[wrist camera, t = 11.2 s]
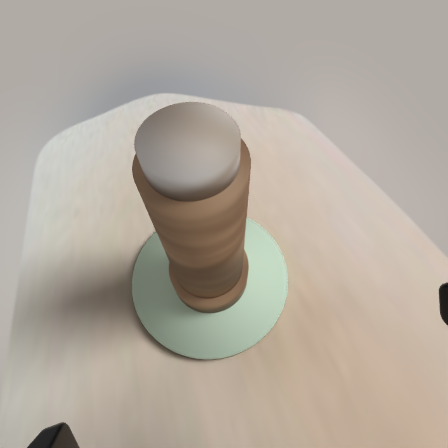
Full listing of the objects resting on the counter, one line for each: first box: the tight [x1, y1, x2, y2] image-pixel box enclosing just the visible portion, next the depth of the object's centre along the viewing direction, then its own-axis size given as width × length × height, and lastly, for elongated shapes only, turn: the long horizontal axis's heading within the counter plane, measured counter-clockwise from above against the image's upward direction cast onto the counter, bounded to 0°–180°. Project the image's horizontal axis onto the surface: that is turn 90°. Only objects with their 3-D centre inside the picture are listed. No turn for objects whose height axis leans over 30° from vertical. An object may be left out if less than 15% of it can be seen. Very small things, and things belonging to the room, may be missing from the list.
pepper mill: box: [132, 102, 251, 313], centre depth 16 cm, size 5×5×13 cm
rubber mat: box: [132, 218, 288, 360], centre depth 22 cm, size 11×11×1 cm
